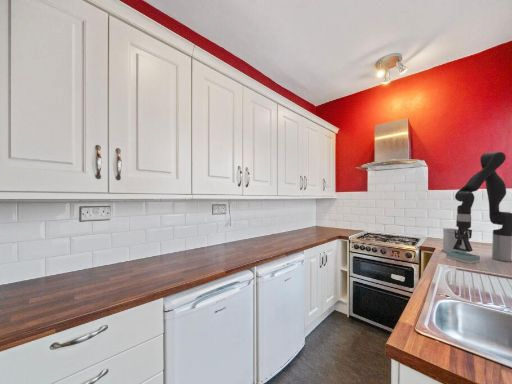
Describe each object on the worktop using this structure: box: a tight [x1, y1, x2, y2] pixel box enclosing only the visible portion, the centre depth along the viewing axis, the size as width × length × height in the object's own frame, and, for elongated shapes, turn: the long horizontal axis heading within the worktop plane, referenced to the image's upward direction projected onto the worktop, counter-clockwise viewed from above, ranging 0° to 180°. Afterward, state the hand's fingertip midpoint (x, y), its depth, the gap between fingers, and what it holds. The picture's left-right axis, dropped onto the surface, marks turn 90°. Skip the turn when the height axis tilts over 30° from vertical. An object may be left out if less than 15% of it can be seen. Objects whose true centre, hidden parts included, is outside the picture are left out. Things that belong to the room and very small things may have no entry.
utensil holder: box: [442, 227, 468, 253], centre depth 177 cm, size 15×15×18 cm
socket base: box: [445, 251, 481, 264], centre depth 158 cm, size 11×14×4 cm
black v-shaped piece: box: [453, 234, 474, 253], centre depth 158 cm, size 9×6×12 cm, turn 32°
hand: (462, 244), depth 158 cm, fingers closed on black v-shaped piece, 6 cm apart
